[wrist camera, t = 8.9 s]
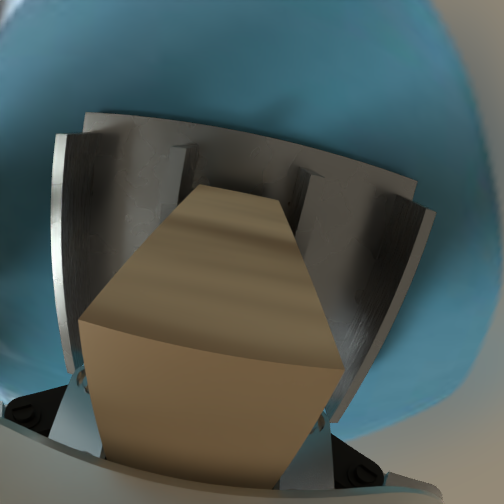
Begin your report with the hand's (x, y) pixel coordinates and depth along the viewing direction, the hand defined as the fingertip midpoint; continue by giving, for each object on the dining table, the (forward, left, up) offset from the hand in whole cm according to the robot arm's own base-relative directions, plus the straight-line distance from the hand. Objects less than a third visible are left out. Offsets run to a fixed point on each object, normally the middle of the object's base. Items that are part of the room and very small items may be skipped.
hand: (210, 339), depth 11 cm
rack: (0, 0, -6) cm, 6 cm away
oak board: (0, 0, -3) cm, 3 cm away
